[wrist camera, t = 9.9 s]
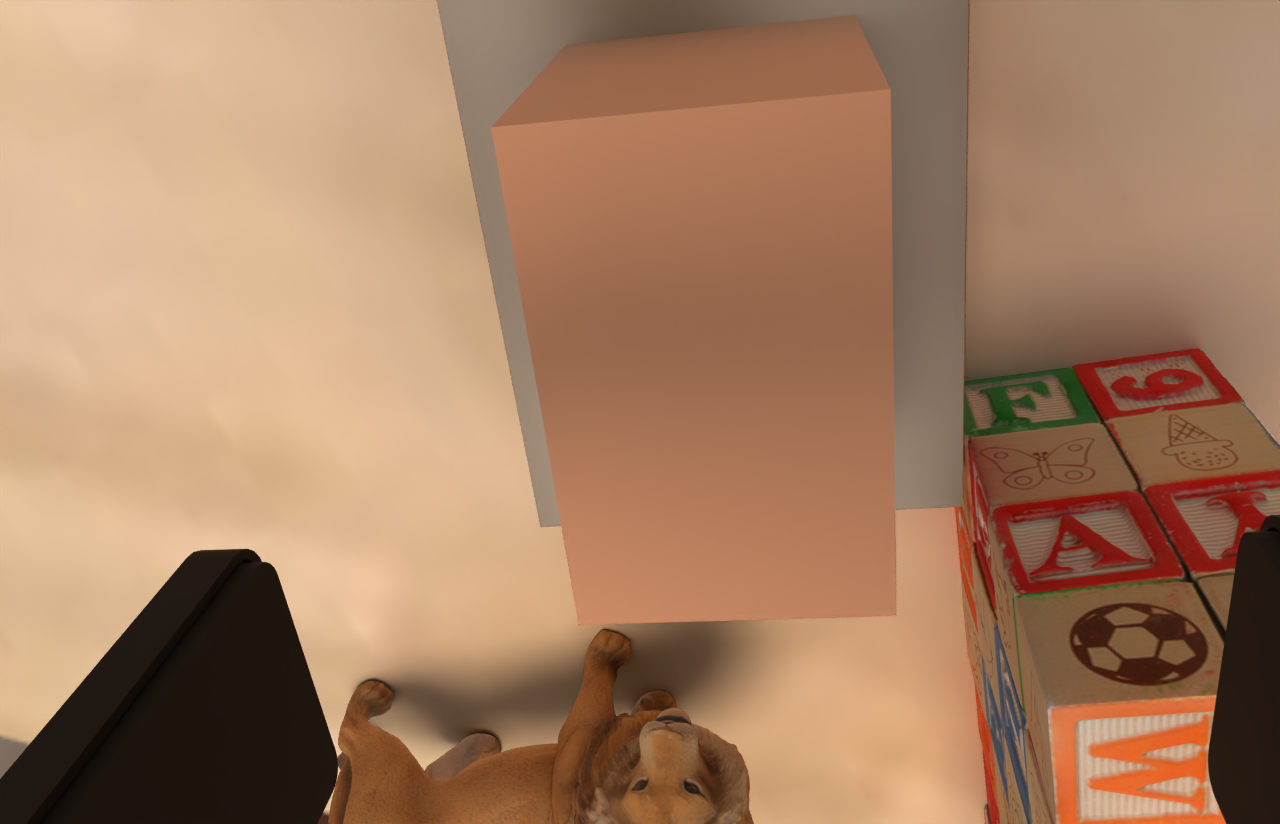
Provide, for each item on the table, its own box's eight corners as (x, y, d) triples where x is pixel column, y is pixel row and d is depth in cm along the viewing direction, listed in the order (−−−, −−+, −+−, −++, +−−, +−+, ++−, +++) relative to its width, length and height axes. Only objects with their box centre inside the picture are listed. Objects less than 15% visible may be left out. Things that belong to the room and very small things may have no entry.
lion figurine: (713, 552, 31) (696, 796, 23) (787, 685, 33) (794, 951, 26) (302, 697, 36) (171, 945, 28) (390, 807, 38) (291, 1068, 30)
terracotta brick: (855, 14, 19) (890, 89, 13) (864, 429, 22) (896, 615, 17) (565, 45, 19) (491, 127, 14) (621, 441, 23) (578, 625, 18)
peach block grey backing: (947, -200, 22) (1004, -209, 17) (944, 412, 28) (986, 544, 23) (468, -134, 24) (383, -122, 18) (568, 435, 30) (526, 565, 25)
